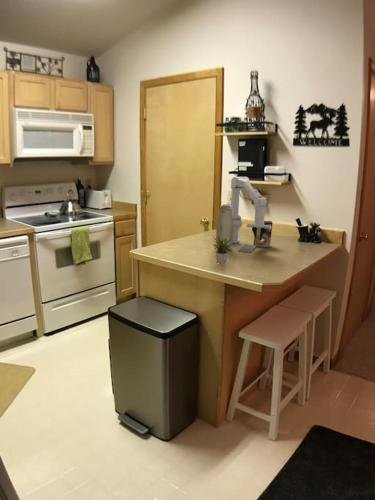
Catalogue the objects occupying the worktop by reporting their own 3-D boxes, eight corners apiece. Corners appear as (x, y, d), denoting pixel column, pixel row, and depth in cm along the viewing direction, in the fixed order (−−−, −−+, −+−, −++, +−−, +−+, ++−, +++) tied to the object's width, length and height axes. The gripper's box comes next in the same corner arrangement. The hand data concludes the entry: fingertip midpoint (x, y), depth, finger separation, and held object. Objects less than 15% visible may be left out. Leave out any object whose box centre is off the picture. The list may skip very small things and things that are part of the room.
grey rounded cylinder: (218, 247, 255) (219, 203, 248) (233, 248, 252) (236, 204, 245) (213, 250, 246) (215, 205, 239) (230, 252, 243) (232, 206, 236)
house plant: (202, 264, 217) (203, 234, 213) (211, 258, 229) (212, 230, 225) (227, 268, 211) (228, 237, 207) (235, 261, 223) (236, 232, 219)
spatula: (259, 245, 238) (260, 239, 237) (251, 244, 239) (251, 238, 239) (264, 240, 250) (264, 235, 249) (256, 239, 252) (256, 234, 251)
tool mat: (237, 251, 246) (237, 250, 246) (245, 244, 263) (245, 244, 263) (250, 252, 243) (250, 252, 243) (257, 246, 260) (257, 245, 260)
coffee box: (268, 245, 263) (272, 220, 259) (269, 247, 257) (273, 222, 253) (254, 243, 264) (257, 219, 260) (255, 246, 258) (258, 221, 253)
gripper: (246, 217, 240) (244, 239, 243) (270, 219, 235) (268, 242, 238) (248, 215, 246) (247, 237, 250) (272, 217, 241) (270, 239, 245)
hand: (258, 239), depth 245 cm, fingers closed on spatula, 2 cm apart
